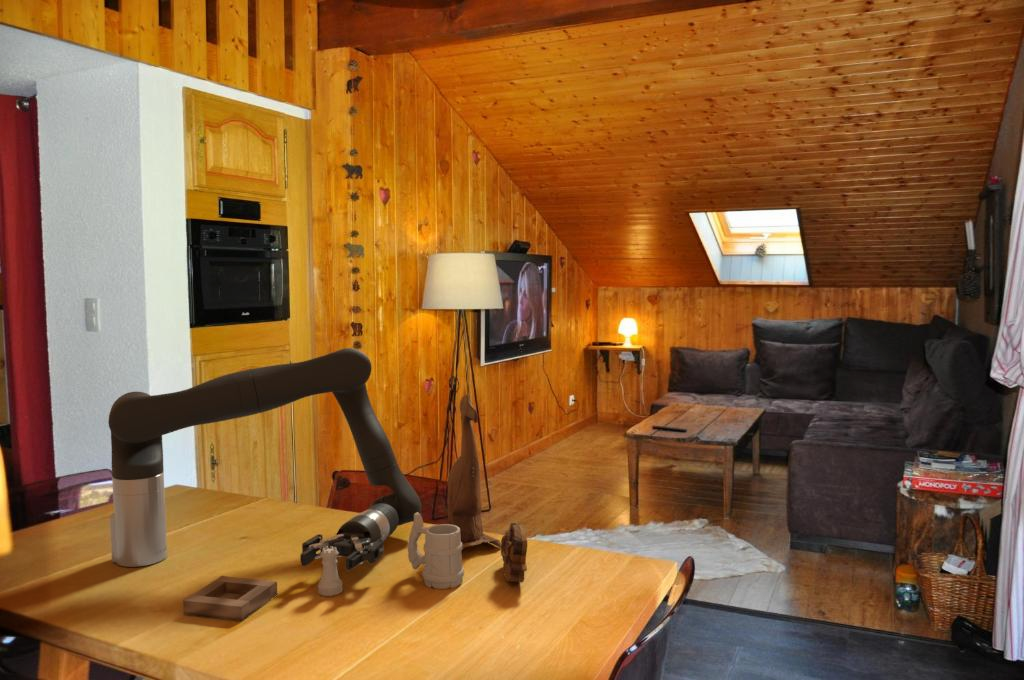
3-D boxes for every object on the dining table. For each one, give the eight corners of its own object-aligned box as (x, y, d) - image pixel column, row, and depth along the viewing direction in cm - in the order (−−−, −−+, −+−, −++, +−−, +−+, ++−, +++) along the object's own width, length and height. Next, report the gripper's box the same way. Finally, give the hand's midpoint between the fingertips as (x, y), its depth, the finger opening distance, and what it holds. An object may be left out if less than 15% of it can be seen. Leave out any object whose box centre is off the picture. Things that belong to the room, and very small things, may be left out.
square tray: (183, 614, 136) (182, 600, 135) (222, 589, 146) (222, 575, 146) (241, 621, 133) (241, 606, 133) (277, 595, 144) (276, 581, 143)
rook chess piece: (348, 589, 146) (346, 545, 145) (334, 598, 142) (333, 554, 141) (326, 586, 148) (325, 543, 147) (312, 595, 143) (311, 551, 143)
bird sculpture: (457, 562, 160) (460, 402, 156) (425, 545, 169) (427, 393, 165) (502, 550, 167) (506, 397, 163) (469, 534, 176) (471, 388, 172)
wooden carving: (492, 563, 158) (492, 513, 158) (515, 561, 159) (515, 512, 159) (509, 597, 142) (509, 541, 142) (535, 594, 143) (535, 539, 142)
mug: (448, 593, 144) (448, 527, 143) (396, 580, 150) (395, 516, 149) (472, 578, 151) (471, 515, 150) (421, 566, 157) (420, 506, 156)
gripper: (330, 512, 160) (287, 538, 144) (397, 517, 156) (362, 545, 141) (331, 549, 160) (289, 579, 145) (398, 555, 157) (363, 587, 141)
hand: (325, 562), depth 143 cm, fingers open, 8 cm apart
